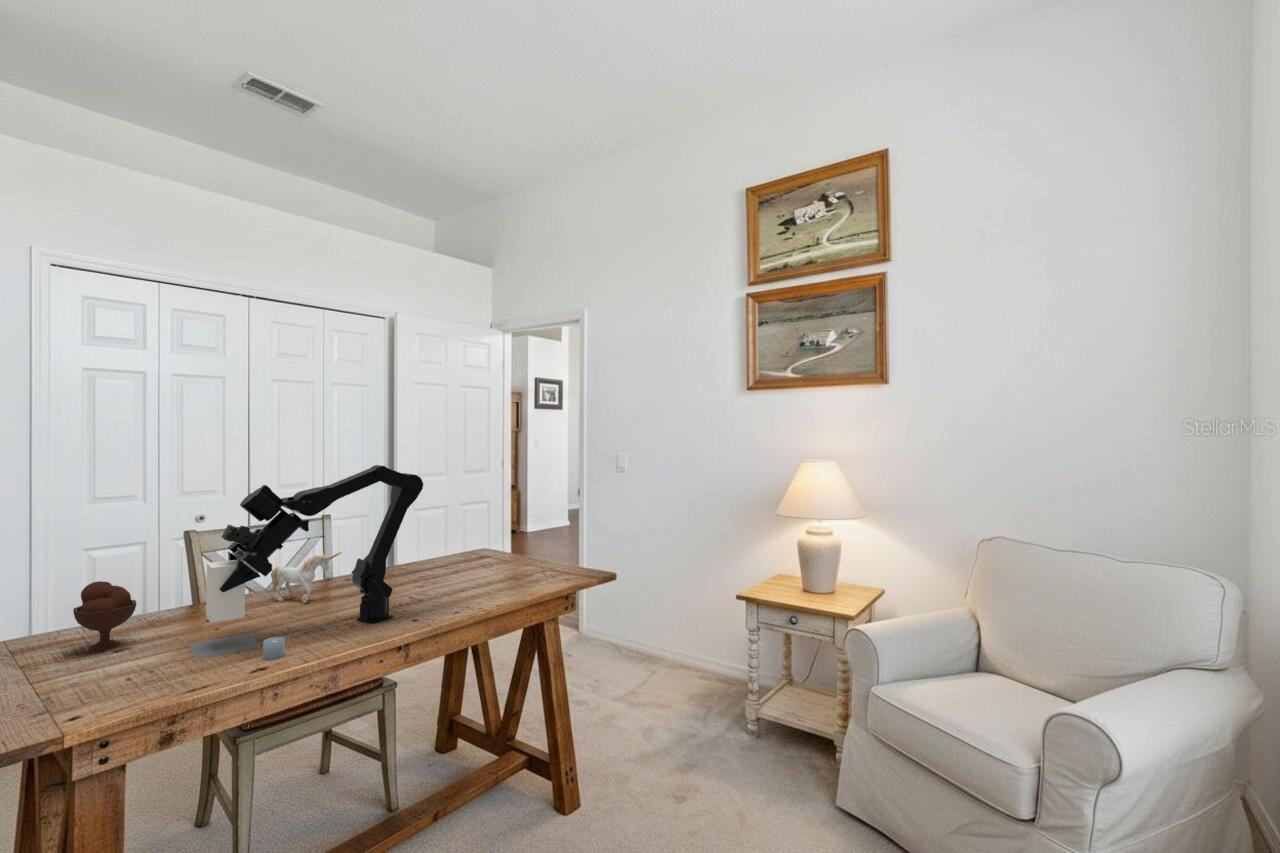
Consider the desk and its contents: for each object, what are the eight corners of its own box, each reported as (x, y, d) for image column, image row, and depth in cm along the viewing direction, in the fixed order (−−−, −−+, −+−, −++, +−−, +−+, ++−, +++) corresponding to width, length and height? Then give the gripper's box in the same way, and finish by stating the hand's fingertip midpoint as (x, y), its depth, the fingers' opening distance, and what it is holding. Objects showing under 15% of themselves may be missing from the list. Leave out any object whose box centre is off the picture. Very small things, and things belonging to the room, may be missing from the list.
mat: (249, 634, 149) (249, 633, 149) (261, 648, 141) (261, 646, 141) (188, 645, 141) (188, 644, 141) (196, 660, 132) (196, 658, 132)
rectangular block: (238, 610, 145) (239, 559, 146) (244, 617, 141) (245, 564, 141) (205, 616, 141) (206, 563, 141) (210, 622, 136) (211, 567, 136)
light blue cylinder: (276, 653, 137) (277, 635, 137) (288, 656, 136) (288, 638, 136) (258, 659, 134) (259, 640, 134) (270, 662, 132) (271, 643, 132)
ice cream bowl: (99, 658, 133) (101, 588, 133) (58, 654, 135) (59, 584, 135) (148, 642, 143) (149, 577, 143) (108, 638, 145) (110, 574, 145)
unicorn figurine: (332, 603, 177) (333, 556, 177) (259, 605, 174) (260, 557, 174) (341, 597, 184) (342, 551, 184) (271, 598, 181) (272, 552, 181)
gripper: (239, 507, 151) (181, 559, 143) (256, 516, 137) (194, 573, 129) (275, 536, 156) (221, 588, 148) (295, 547, 142) (238, 605, 135)
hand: (218, 588), depth 140 cm, fingers closed on rectangular block, 6 cm apart
